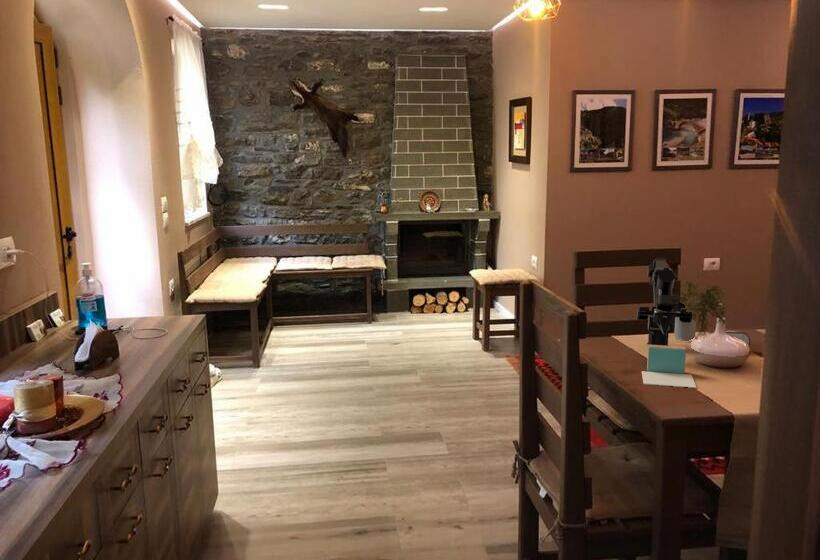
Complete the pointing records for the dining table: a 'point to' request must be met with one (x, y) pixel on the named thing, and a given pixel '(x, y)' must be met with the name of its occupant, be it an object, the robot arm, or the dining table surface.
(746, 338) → the tin
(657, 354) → the tile
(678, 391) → the dining table surface
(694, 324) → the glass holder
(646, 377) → the mat
